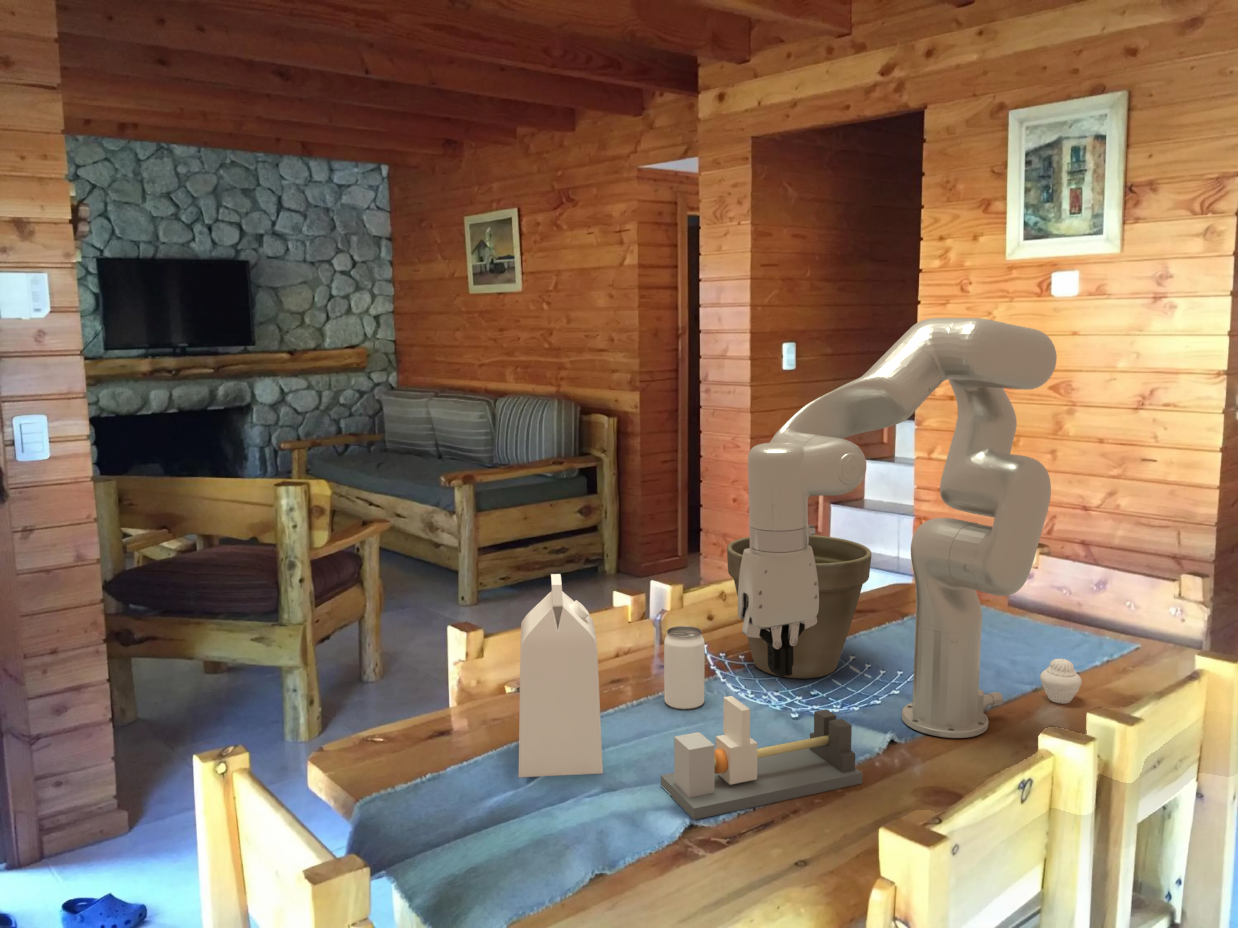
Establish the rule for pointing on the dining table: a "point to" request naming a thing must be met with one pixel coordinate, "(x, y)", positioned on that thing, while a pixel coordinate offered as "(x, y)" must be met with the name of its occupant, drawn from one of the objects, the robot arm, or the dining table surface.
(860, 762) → the dining table surface
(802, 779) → the slider mechanism
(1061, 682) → the muffin
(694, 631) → the can
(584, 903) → the dining table surface
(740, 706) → the sleeve
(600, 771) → the milk
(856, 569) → the plant pot
